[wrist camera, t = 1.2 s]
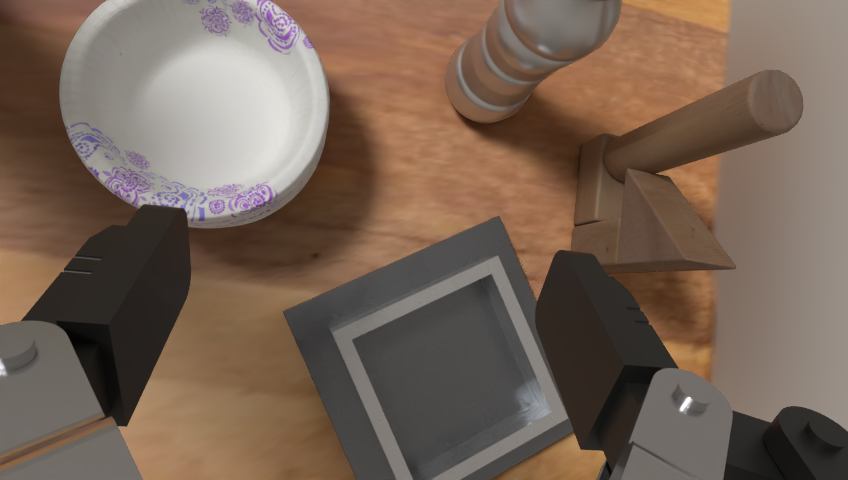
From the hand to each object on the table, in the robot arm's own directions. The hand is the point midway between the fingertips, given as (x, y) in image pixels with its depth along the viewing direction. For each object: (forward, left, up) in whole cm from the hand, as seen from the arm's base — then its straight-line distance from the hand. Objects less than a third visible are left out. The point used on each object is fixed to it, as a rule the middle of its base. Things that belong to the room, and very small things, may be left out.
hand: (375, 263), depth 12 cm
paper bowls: (-13, -3, -29) cm, 32 cm away
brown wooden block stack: (+4, +23, -29) cm, 37 cm away
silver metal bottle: (-9, +17, -29) cm, 35 cm away
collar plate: (+10, +5, -29) cm, 31 cm away
